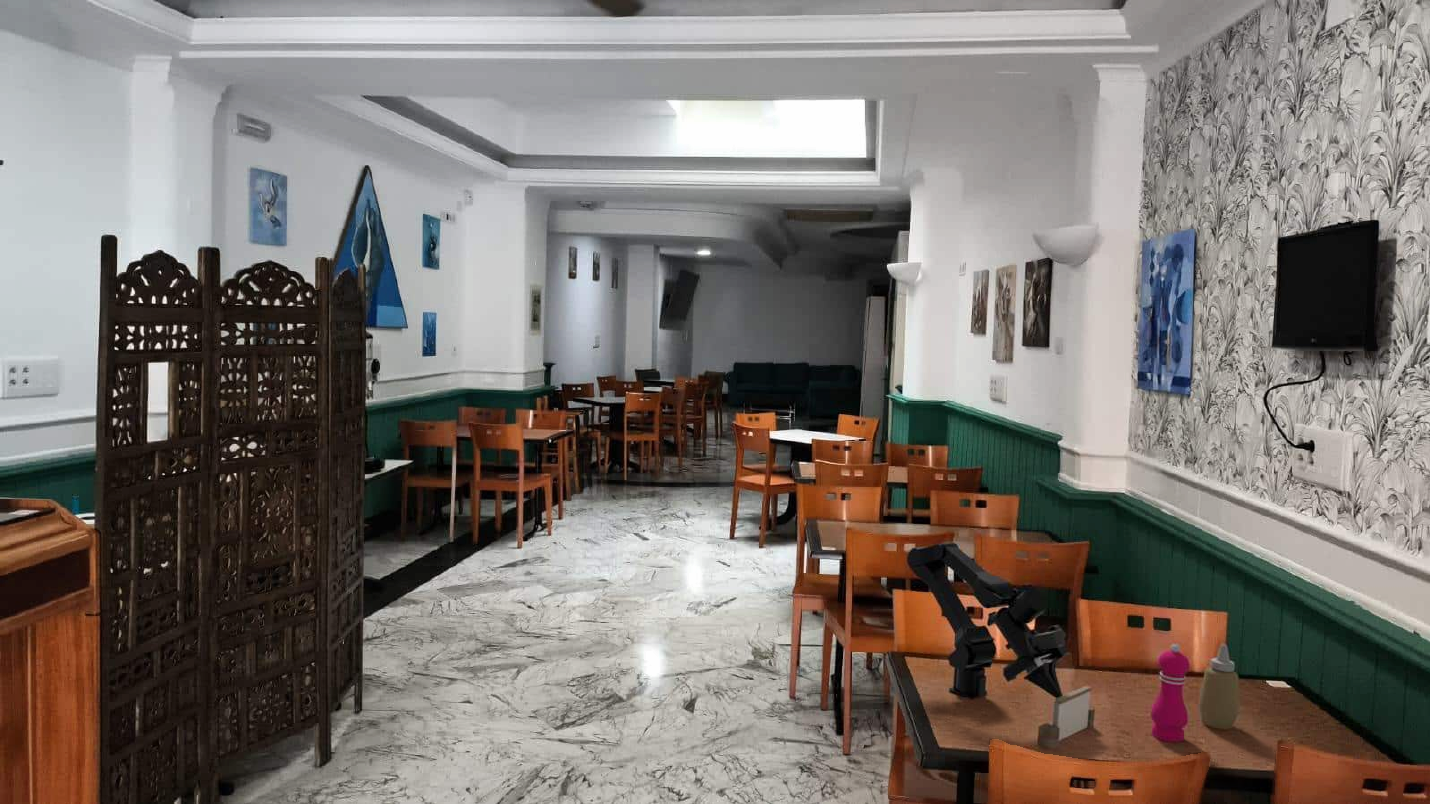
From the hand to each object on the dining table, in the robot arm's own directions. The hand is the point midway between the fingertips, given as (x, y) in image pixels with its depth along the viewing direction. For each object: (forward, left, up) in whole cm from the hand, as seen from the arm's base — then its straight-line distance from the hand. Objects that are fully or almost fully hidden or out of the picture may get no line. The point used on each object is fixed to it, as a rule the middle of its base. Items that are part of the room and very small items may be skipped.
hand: (1060, 697), depth 209 cm
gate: (+3, 0, -7) cm, 7 cm away
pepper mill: (+16, +17, -7) cm, 24 cm away
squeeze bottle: (+20, +33, -7) cm, 39 cm away
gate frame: (+3, -1, -7) cm, 8 cm away
